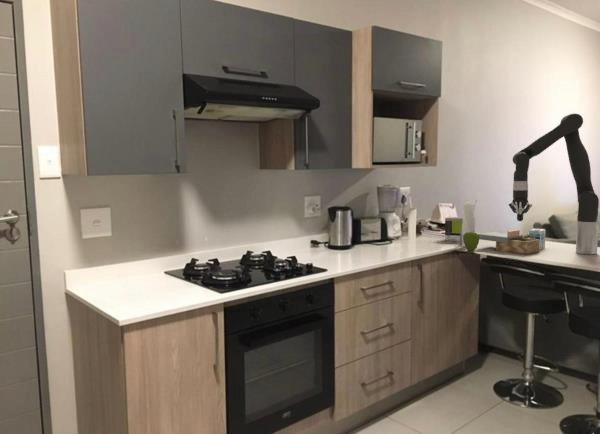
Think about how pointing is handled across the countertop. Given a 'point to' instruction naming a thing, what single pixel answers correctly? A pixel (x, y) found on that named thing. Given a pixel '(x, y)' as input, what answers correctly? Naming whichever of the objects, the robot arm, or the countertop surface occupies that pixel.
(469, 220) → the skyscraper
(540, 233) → the light bulb box
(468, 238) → the green faceted ovoid
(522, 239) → the wooden box
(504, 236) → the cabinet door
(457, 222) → the tea box
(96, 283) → the countertop surface
